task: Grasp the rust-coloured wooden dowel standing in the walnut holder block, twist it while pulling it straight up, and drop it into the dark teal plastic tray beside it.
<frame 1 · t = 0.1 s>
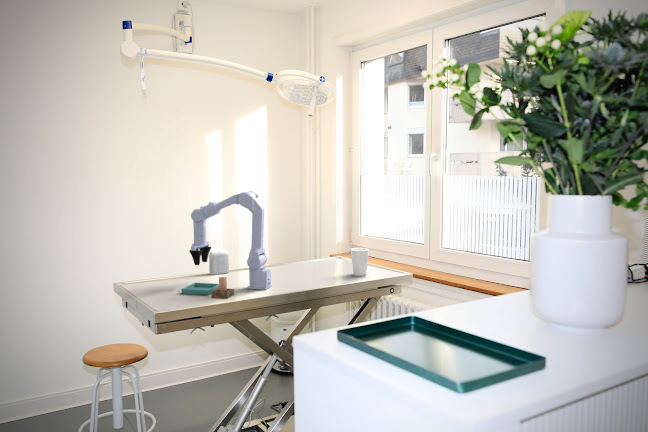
hand: (200, 263, 257), 10 cm above the table, tool pointing down, fingers open, 7 cm apart
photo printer: (219, 274, 283), on the table
dowel: (222, 286, 236), in the walnut holder
teal tray: (201, 291, 246), on the table
walnut holder: (223, 296, 237), on the table
foam cup: (359, 274, 279), on the table
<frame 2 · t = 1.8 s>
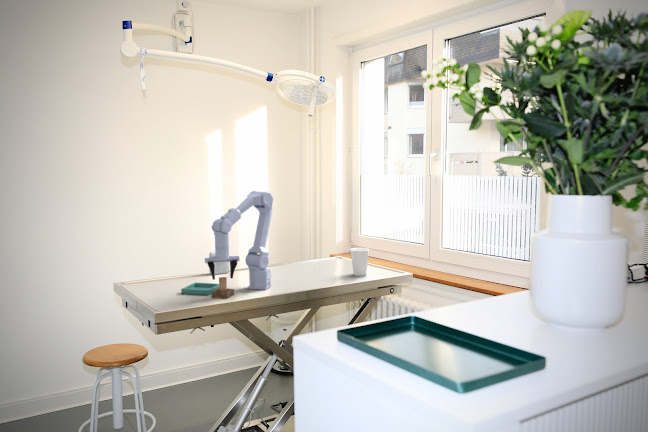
hand: (222, 278, 236), 8 cm above the table, tool pointing down, fingers open, 7 cm apart
nothing on the table moved.
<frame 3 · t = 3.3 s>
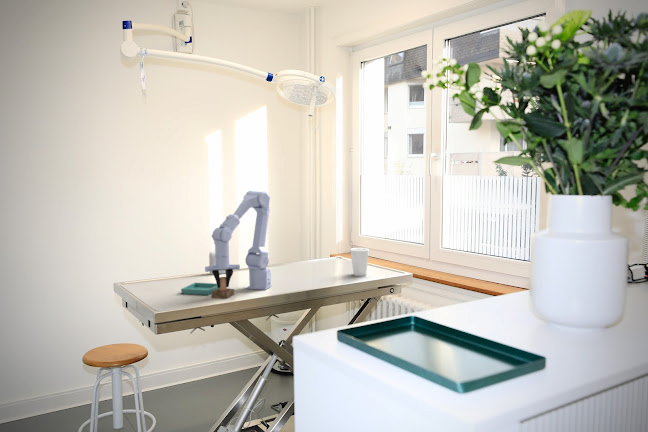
hand: (222, 287, 236), 4 cm above the table, tool pointing down, fingers closed on dowel, 3 cm apart
dowel: (222, 286, 236), in the walnut holder, touching gripper
everything else where it was.
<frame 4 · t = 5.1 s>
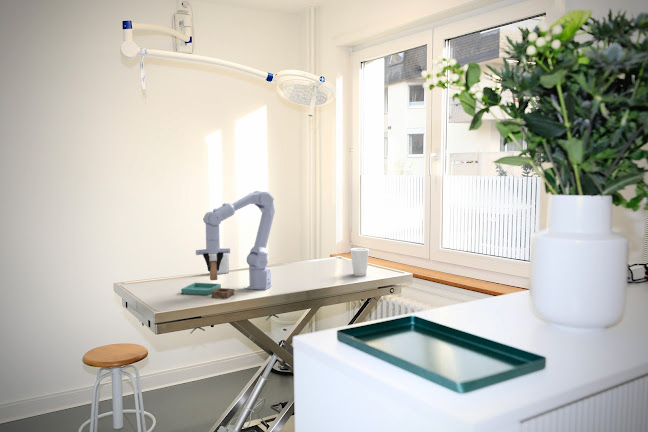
hand: (213, 270, 239), 10 cm above the table, tool pointing down, fingers closed on dowel, 3 cm apart
dowel: (213, 270, 239), point 10 cm above the table, touching gripper
everything else where it was.
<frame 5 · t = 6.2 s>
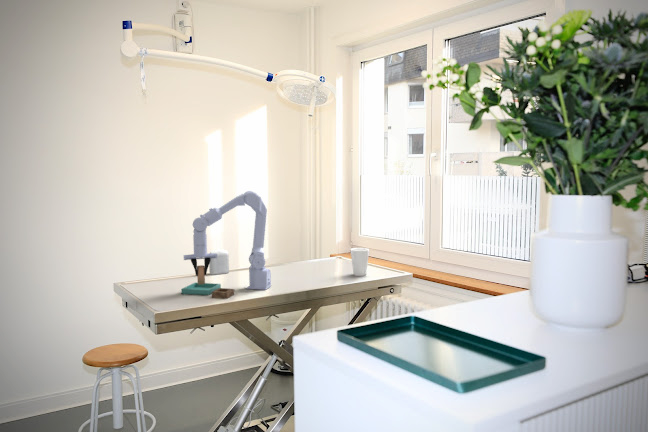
hand: (201, 275, 245), 7 cm above the table, tool pointing down, fingers closed on dowel, 3 cm apart
dowel: (201, 274, 245), point 7 cm above the table, touching gripper
everything else where it was.
when the fingers open (6 cm above the table, at t = 7.2 s): dowel drops 1 cm, resting on teal tray.
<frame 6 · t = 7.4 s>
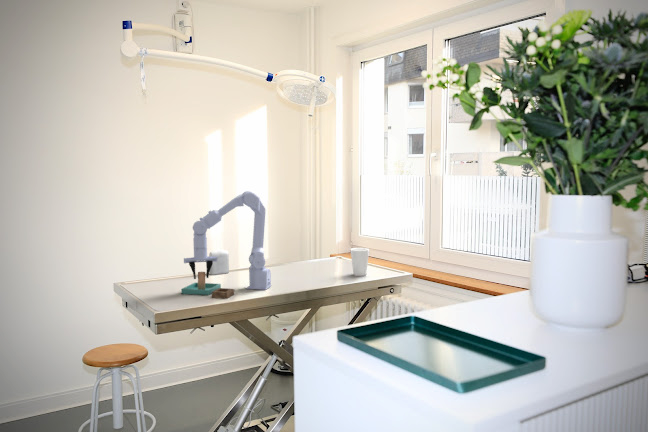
hand: (201, 278, 245), 6 cm above the table, tool pointing down, fingers open, 5 cm apart
dowel: (201, 281, 245), in the teal tray
everything else where it was.
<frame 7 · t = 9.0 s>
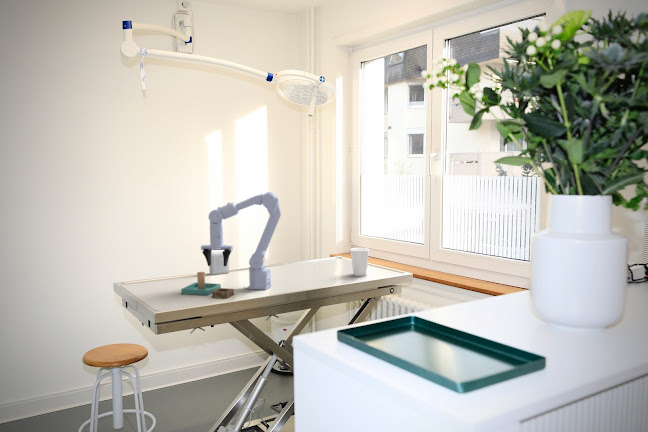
hand: (217, 265, 250), 10 cm above the table, tool pointing down, fingers open, 7 cm apart
nothing on the table moved.
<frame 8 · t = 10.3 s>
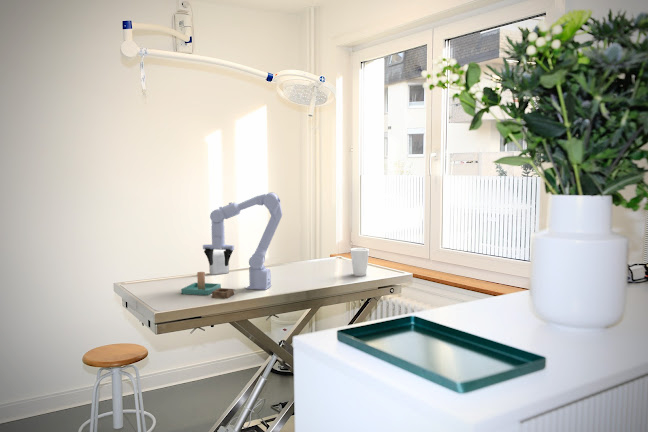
hand: (218, 265, 251), 10 cm above the table, tool pointing down, fingers open, 7 cm apart
nothing on the table moved.
at the end: dowel inside the target area on the teal tray (0.1 cm from its centre), point 4.5 cm above the teal tray's base; dowel moved 14.3 cm from its start; the gripper is holding nothing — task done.
